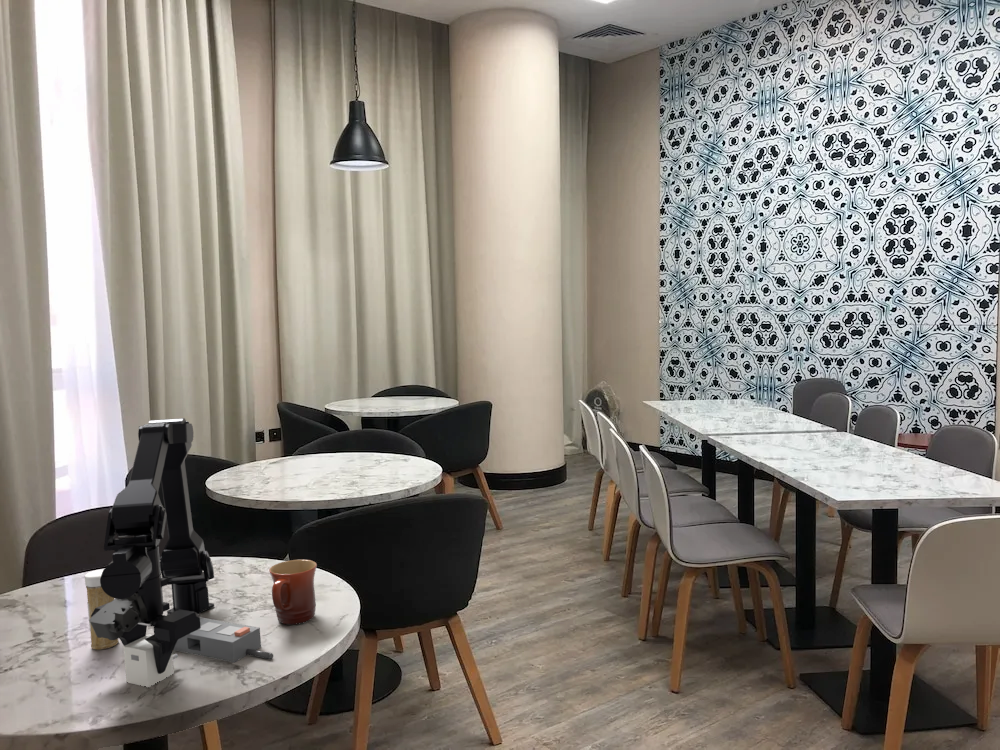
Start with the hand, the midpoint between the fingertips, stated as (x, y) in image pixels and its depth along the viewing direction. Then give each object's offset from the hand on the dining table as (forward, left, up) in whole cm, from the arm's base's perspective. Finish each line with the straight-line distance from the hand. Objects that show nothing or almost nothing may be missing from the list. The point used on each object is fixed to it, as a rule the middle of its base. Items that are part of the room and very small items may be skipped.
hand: (149, 670), depth 129 cm
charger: (0, +1, -1) cm, 2 cm away
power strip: (+3, +13, -1) cm, 13 cm away
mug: (+7, +26, -2) cm, 27 cm away
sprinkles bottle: (-19, +7, -2) cm, 20 cm away
